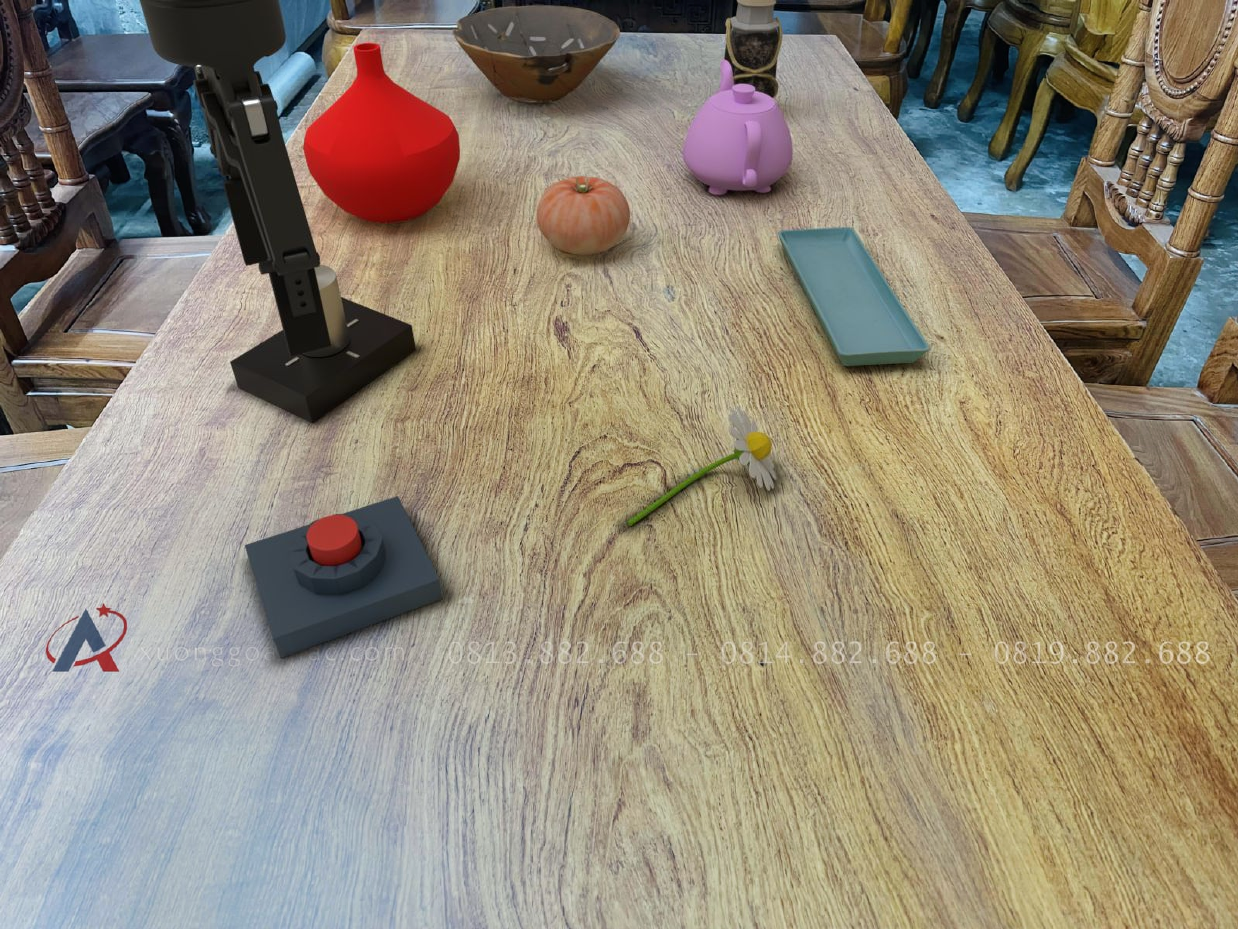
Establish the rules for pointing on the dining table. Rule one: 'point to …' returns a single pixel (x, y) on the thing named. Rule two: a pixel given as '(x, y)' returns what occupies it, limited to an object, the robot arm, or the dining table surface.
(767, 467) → the decorative flower
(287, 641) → the button box
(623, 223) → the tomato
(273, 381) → the panel
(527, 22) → the bowl
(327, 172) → the vase
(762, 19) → the lantern
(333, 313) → the knob
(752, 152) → the teapot
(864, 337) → the rectangular tray
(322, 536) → the button
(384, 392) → the dining table surface
